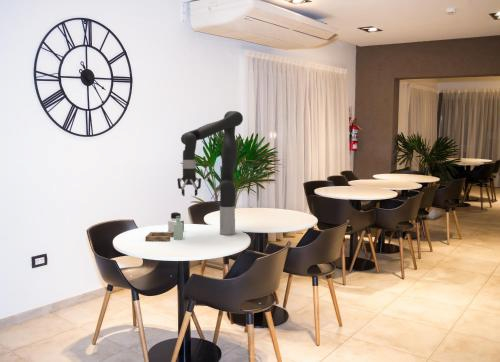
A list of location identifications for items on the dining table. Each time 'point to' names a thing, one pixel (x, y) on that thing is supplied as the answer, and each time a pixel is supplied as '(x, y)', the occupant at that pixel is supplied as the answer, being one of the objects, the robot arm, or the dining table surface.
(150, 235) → the tray
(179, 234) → the bottle
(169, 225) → the medicine bottle
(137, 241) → the dining table surface
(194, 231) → the dining table surface
